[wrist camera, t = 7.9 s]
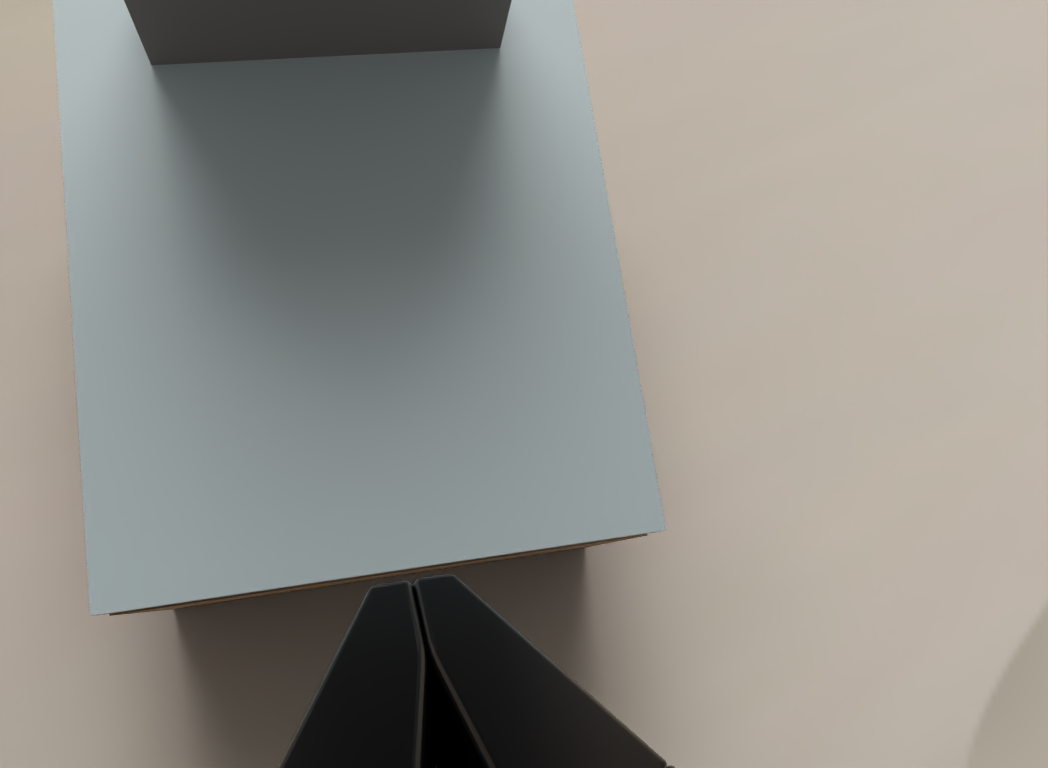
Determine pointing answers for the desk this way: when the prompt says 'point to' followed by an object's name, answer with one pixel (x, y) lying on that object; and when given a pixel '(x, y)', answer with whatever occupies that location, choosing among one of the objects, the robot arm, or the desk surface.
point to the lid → (339, 292)
